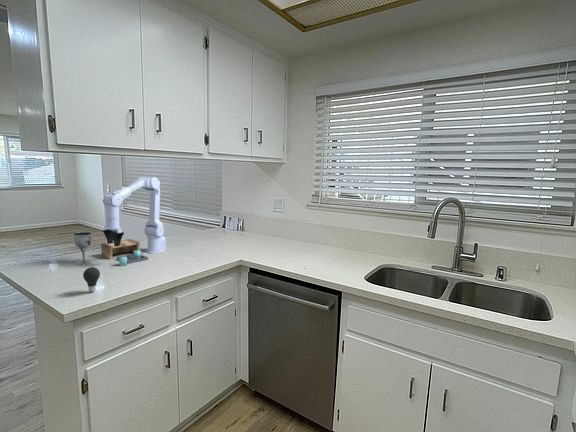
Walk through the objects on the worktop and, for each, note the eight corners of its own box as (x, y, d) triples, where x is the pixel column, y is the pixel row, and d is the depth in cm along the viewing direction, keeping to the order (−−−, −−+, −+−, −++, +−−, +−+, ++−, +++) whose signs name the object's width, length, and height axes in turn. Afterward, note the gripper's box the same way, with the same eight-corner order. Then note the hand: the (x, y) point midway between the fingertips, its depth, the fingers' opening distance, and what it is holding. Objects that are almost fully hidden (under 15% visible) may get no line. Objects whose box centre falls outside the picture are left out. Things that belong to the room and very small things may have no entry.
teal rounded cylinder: (138, 257, 173) (138, 249, 172) (142, 258, 170) (142, 250, 170) (132, 258, 170) (132, 250, 169) (135, 259, 168) (135, 251, 167)
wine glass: (84, 265, 156) (82, 235, 153) (70, 263, 157) (68, 234, 155) (96, 261, 163) (95, 232, 161) (83, 259, 165) (82, 231, 163)
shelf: (130, 250, 185) (130, 239, 184) (139, 254, 179) (139, 242, 178) (101, 256, 172) (101, 243, 171) (110, 259, 167) (109, 246, 166)
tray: (137, 257, 176) (137, 253, 176) (148, 261, 169) (148, 257, 169) (117, 260, 167) (117, 256, 167) (127, 265, 161) (127, 261, 160)
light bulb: (86, 295, 121) (85, 270, 119) (81, 291, 124) (80, 267, 123) (102, 292, 125) (101, 267, 123) (97, 288, 128) (96, 264, 127)
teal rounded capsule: (125, 264, 161) (124, 255, 160) (128, 265, 159) (128, 257, 158) (117, 265, 158) (117, 257, 157) (121, 267, 156) (120, 258, 155)
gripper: (97, 217, 159) (98, 243, 161) (110, 220, 150) (111, 248, 152) (112, 215, 164) (113, 241, 166) (125, 219, 156) (126, 246, 158)
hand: (113, 244), depth 160 cm, fingers open, 7 cm apart
